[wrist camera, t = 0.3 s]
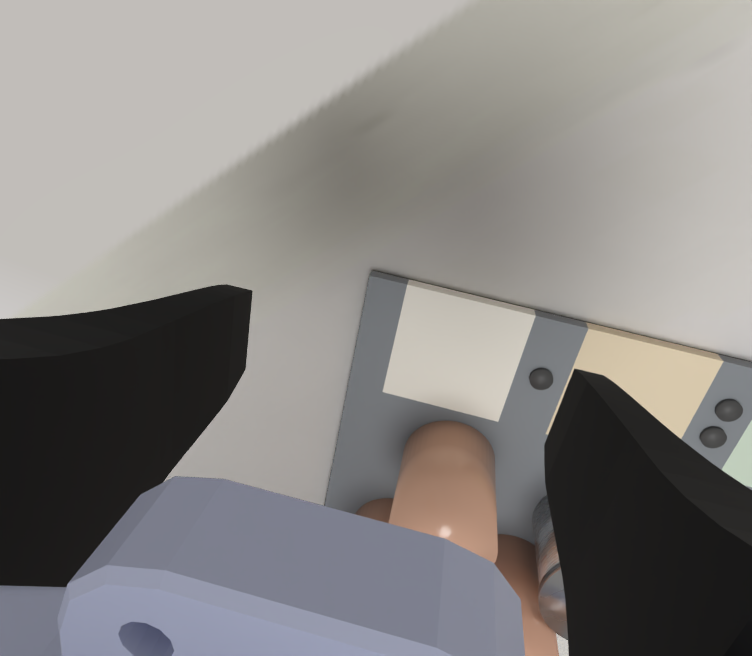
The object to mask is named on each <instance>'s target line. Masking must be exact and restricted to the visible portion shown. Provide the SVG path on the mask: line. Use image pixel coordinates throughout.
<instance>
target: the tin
mask: <svg viewBox="0 0 752 656" xmlns="http://www.w3.org/2000/svg"><path fill="white" fill-rule="evenodd" d="M532 525H533V534H534V543H535V552H536V561H537V569H538V578H539V588H538V602H539V609H540V613H541V615H542V617H543V619H544V621H545V622H546V624H547V625H548V626H549V627H550V628H551V629H552V630H553V631H554V632H556V633H557V634H558V635H560V636H561V637H563V638H565V639H567V640H568V631H567V616H566V602H565V593H564V585H563V578H562V572H561V567H560V562H559V556H558V551H557V546H556V540H555V535H554V530H553V525H552V519H551V514H550V508H549V503H548V497H547V495H546V496H544V497H543V498H542V499H541V500H540V502H539V503H538V504H537V506H536V508H535V510H534V513H533V517H532Z"/></svg>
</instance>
